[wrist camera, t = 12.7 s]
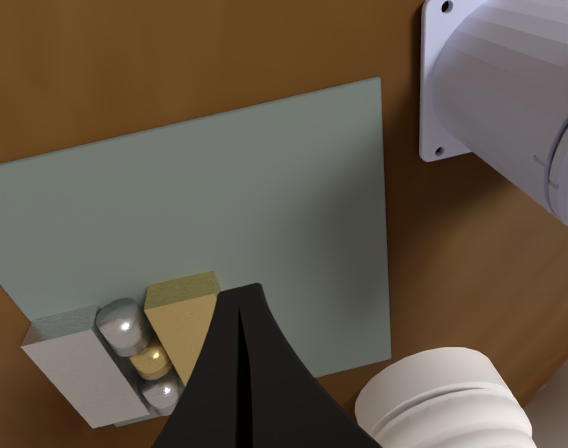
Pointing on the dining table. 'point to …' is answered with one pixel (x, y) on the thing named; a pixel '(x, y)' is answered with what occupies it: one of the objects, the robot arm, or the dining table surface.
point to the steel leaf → (101, 362)
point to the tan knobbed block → (177, 324)
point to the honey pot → (442, 404)
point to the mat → (218, 220)
